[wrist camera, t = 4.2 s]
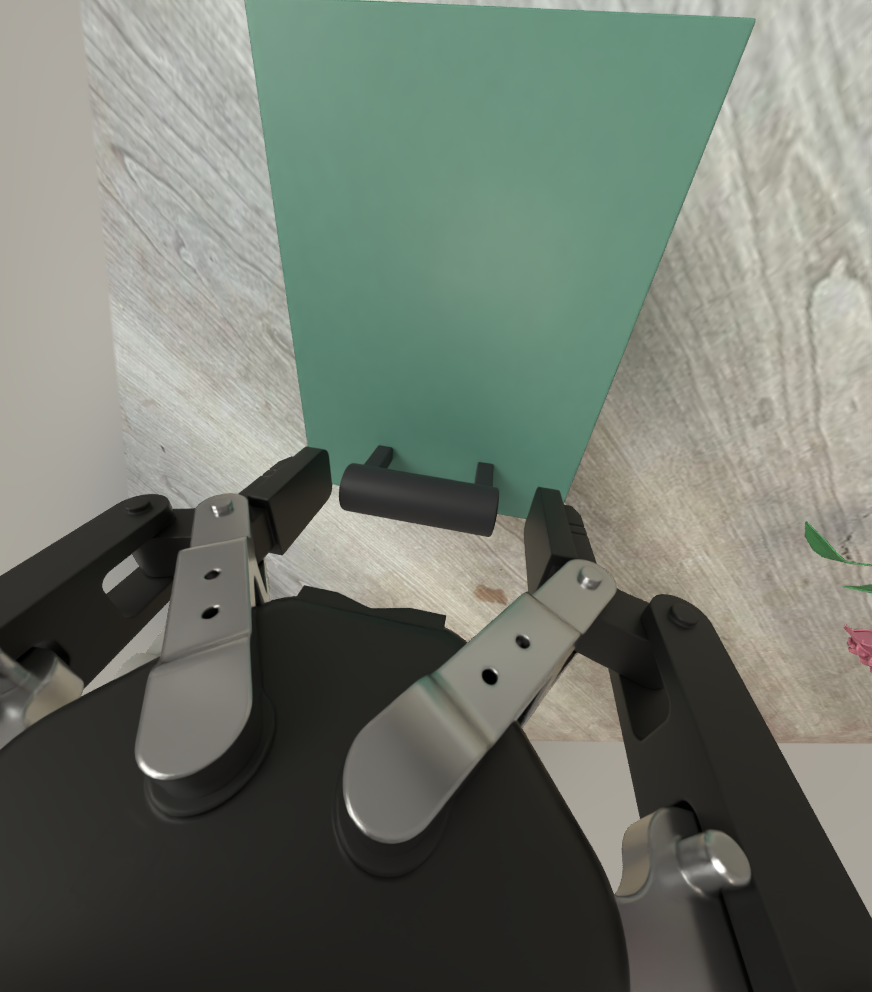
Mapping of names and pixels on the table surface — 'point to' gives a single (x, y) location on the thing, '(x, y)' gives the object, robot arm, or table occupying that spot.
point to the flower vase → (862, 640)
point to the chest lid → (473, 229)
